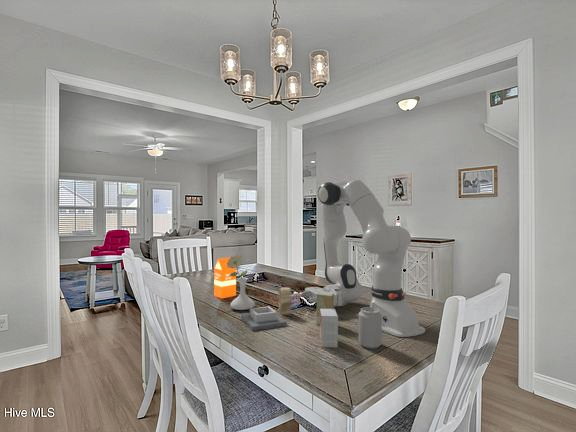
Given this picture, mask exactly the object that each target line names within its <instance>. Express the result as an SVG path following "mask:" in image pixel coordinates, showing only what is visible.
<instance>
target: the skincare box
mask: <svg viewBox="0 0 576 432" xmlns="http://www.w3.org/2000/svg"><path fill="white" fill-rule="evenodd" d="M320 309H335V306H334V293H328V292H319V293H318V294H317V302H316V315H315V316H316V318H315V319H316V320H315V324H316V325H319V326H320Z"/></svg>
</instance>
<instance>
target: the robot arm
mask: <svg viewBox="0 0 576 432" xmlns="http://www.w3.org/2000/svg"><path fill="white" fill-rule="evenodd" d="M317 198H318V201H319V202H320V204H321V207H320V208H321V209H320V212H321V220H322V221H321V222H322V227H323V228H322V229H323V250H324V251H323V252H324V259H325V267H324V268H325V269H324V278H325V279H326V280H327V282H328V283H330V284H326V285H325V286H324V287H319V286H309V287H305V288H304V291H301V292H299V297H301V298H304V297H308V302H309V303H317V294H318V293H319V292H328V293H334V307H335V306H336V307H340V306H342V303H350V302H355V301H358V300H360V299H361V298H362V296H363V294H364V288H363V285H362V284H361V282H360V281H359V280H358V276H357V270H356V269H355V267H354V266H353V265H352V264H349V263H342V264H341V263H340V262H339V258H338V250H337V249H338V248H337V246H338V243H339V242H340V241H341V239H342V238H344V236H345V235H346V233H347V221H346V217H345V213H344V209H345V207H346V206H347V207H350V208H351V210H352V212H353V214H354V215H355V217H356V218H357V220H358V222H359V224H360V226H361V229H362V233H363V234H362V237H361V244H362V247H363V248H364V250H365V251H366V252H368V253H369V254H374V255H378V257H377V259H376V262H375V263H374V265H373V267H372V286H371V296H372V298H371V300H370V304H369V307H372V308H376V309H379V310H380V312H379V313H380V314H381V315H382V332H384V333H387V334H390V335H393V336H395V337H399V338H400V337H402V338H408V337H409V338H410V337H415V336H420V335H422V334H425V333H426V328H424V327H423V326H421V325H419V317H418V313H417V312H416V311H415V309H413V308H412V306H411V305H410V304H409V303H408V302H407V300H406V299H405V296H407V292H404V291H403V288H402V275H403V274H402V271H403V266H404V265H403V264H404V260H405V256H406V253H407V250H408V247H409V246H410V245H411V241H412V237H411V234H410V231H409V230H407V229H406V228H404V227H402V226H398V225H388V224H387V222H386V219H385V218H384V211H385V210H384V208H383V207H382V205H381V203H380V201H378V199H377V197H376V196H375V194H373V192H372V191H371V189H370V188H369V187H368V186H367V185H366V184H365V182H363V181H362V180H360V179H352V180H335V181H328V182H324V183H322V184H320V185H319V187H318V189H317Z"/></svg>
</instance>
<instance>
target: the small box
mask: <svg viewBox="0 0 576 432" xmlns="http://www.w3.org/2000/svg"><path fill="white" fill-rule="evenodd" d="M338 333H339V316H338V313H337V311H336V308H334V309H320V325H319V334H318V335H319V341H320V348H338V347H339V345H338V344H339V343H338V341H339V334H338Z"/></svg>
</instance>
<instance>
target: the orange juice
mask: <svg viewBox="0 0 576 432" xmlns="http://www.w3.org/2000/svg"><path fill="white" fill-rule="evenodd" d="M231 257H232V256H230V257H222V258H217V261H216V264H215V266H214V268H213V272H214V273H213V275H214V280H213V284H214V285H213V288H214V289H213V291H214V292H213V295H214V297H217V298H220V299H225V298H230V297H235V296H236V295H237V275H236V276H234V277H233V276H229V275H230V274H231V273H233V272H237V267H236V268H234V269H231V268H229V267H227V266H228V265H227V262H228V259H230V258H231Z"/></svg>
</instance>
